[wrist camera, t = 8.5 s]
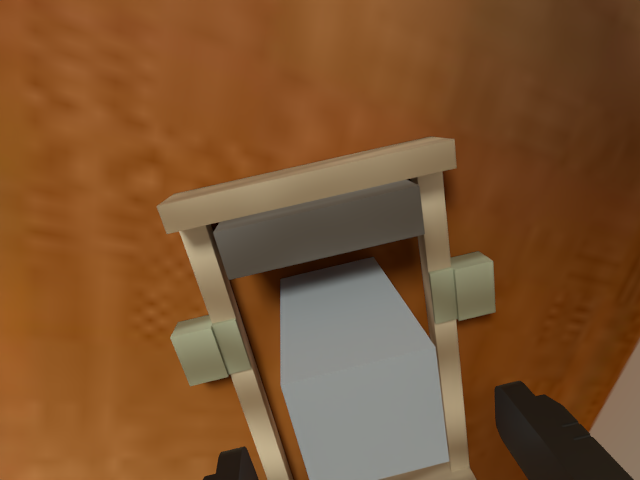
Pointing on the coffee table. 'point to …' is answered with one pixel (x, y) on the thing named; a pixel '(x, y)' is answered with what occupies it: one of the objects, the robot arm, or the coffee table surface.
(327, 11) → the coffee table surface
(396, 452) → the grey rectangular block
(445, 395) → the beam frame
